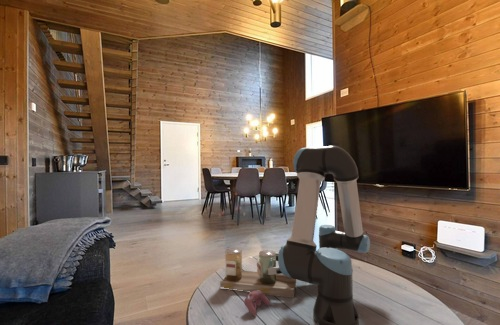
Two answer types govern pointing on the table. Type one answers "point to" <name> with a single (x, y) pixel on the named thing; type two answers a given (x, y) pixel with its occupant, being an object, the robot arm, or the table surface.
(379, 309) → the table surface
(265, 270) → the green tin
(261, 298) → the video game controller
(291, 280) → the wooden tray
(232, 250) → the mustard tin
